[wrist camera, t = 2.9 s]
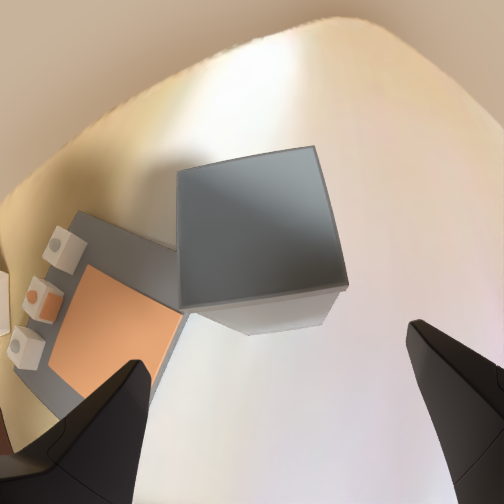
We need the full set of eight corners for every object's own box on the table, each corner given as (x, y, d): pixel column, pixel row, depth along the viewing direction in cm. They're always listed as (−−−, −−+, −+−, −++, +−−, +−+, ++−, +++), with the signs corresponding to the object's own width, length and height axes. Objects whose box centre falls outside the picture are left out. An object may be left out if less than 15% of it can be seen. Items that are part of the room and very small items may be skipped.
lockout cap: (322, 326, 20) (349, 284, 9) (247, 337, 20) (178, 309, 9) (310, 254, 22) (314, 145, 10) (239, 265, 22) (176, 171, 11)
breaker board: (124, 465, 18) (95, 478, 14) (20, 371, 22) (-9, 367, 18) (210, 268, 22) (192, 248, 19) (84, 214, 26) (59, 195, 23)
